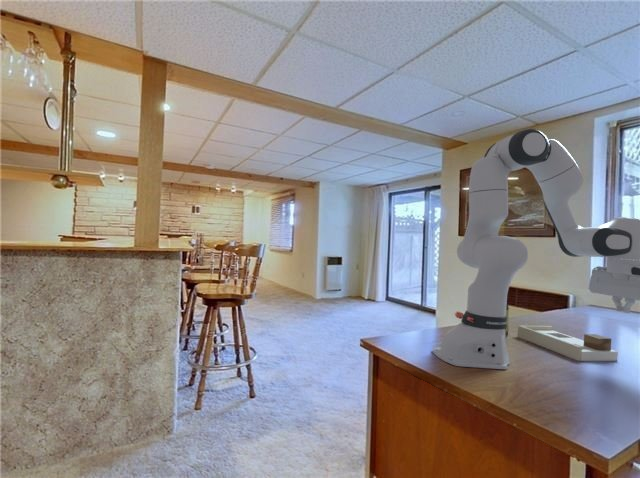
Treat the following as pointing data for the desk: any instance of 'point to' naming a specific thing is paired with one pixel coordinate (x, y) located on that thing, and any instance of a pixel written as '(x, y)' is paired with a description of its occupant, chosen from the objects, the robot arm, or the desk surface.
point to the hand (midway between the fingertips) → (622, 311)
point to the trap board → (564, 344)
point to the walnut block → (597, 342)
